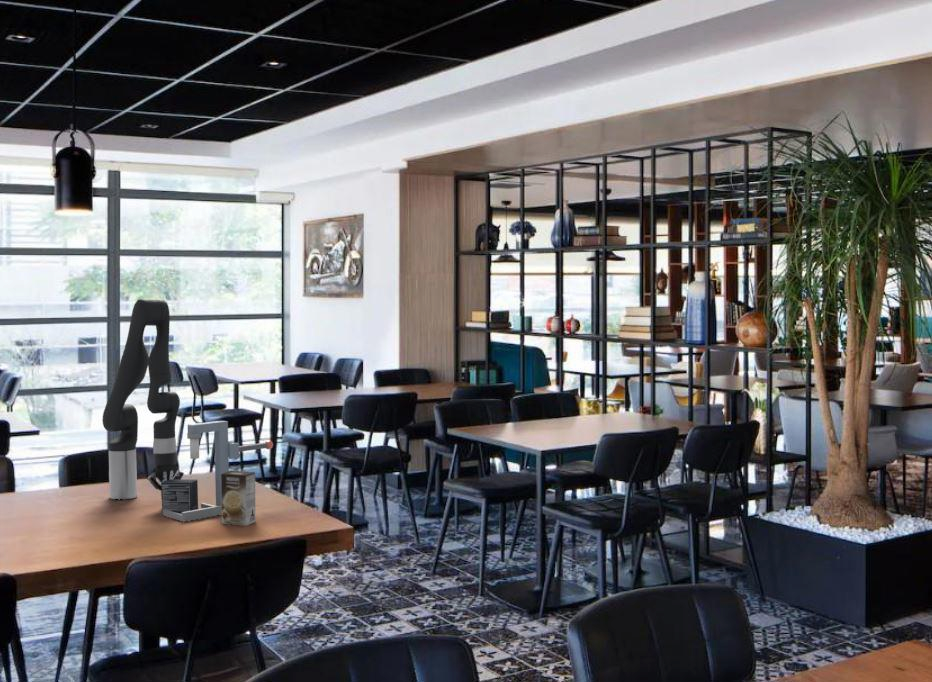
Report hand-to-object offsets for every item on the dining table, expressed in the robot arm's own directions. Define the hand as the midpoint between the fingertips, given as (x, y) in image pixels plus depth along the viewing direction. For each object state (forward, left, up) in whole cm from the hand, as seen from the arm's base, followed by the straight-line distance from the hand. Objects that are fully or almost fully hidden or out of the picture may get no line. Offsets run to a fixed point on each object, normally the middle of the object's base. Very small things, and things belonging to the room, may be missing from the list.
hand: (166, 501), depth 347 cm
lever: (+19, +21, +17) cm, 33 cm away
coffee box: (+38, +4, -2) cm, 39 cm away
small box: (+9, 0, -2) cm, 10 cm away
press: (+18, +4, -2) cm, 18 cm away
